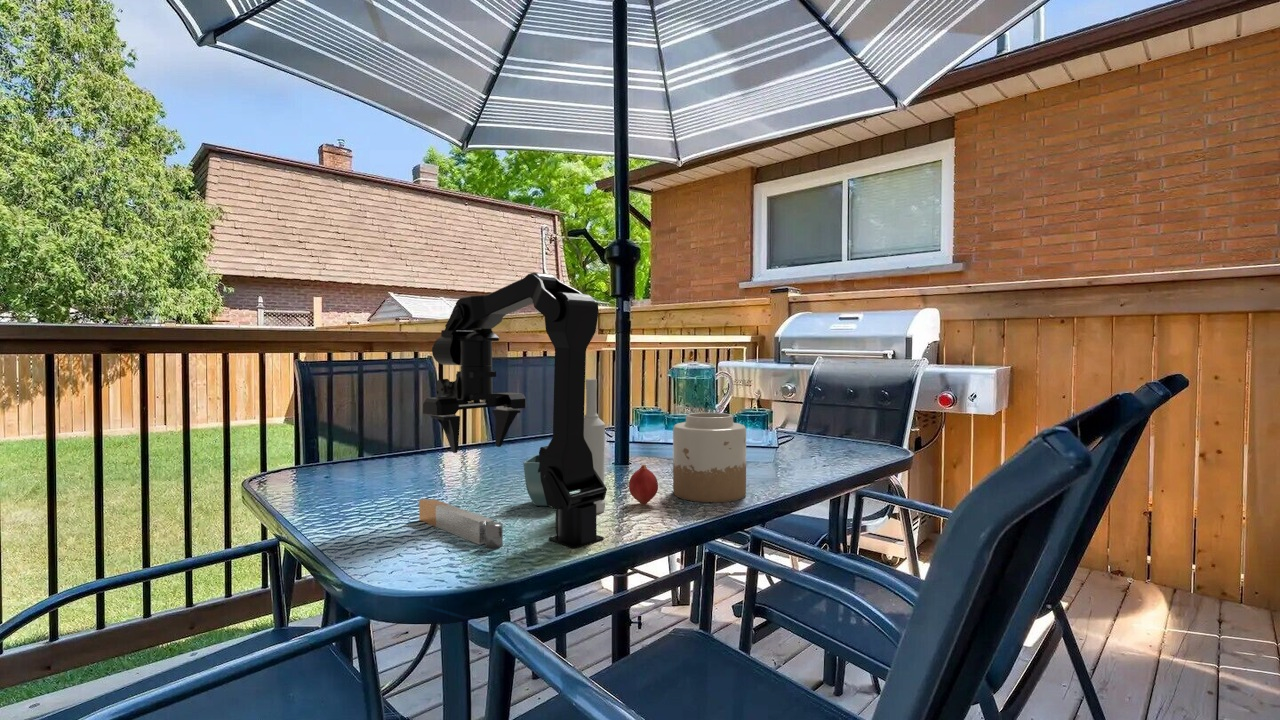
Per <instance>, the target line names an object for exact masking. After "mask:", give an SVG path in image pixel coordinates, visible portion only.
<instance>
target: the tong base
mask: <svg viewBox="0 0 1280 720" xmlns="http://www.w3.org/2000/svg"><path fill="white" fill-rule="evenodd" d="M429 500H431V501H434V502H436V503H439V504H442V505H445V506H447V507H450V508H453V509H456V510H459V511H461V512H464V513H467V514H470V515H472V516H475V517H478V518H481V519H484V520H486V525H485V538H486V543H485V548H486V549H488V550H491V549H492V550H493V549H494V550H495V549H499V548H502V547H503V545H504V541H503V539H504V538H503V537H504V536H503V535H504V533H503V531H504V529H503V527H504V526H503V524H504V523H502V522H499V521H498V522H497V521H495V520H494V519H492V518H489V517H487V516H483V515H481V514H478V513H474V512H472V511H468V510H465V509H464V508H460V507H458V506H454V505H451V504H449V503H445V502H443V501H440V500H439V499H434V498H431V499H429Z"/></svg>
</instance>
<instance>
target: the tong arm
mask: <svg viewBox="0 0 1280 720" xmlns="http://www.w3.org/2000/svg"><path fill="white" fill-rule="evenodd" d="M418 502H419V503H418V504H419V505H418V506H419V507H418V510H419V512H418V514H419V515H418V517H419V521H421V522H423V523H426V524H428V525H431V526H433V527H436V528H437V529H441V530H443V531H445V532H448V533H450V534H452V535H455V536H458V537H459V538H462V539H465V540H467V541H469V542H471V543H475V544H477V545H479V546H481V545H484V544H485V545H486V538H485V525H486V520H484V519H481V518H478V517H475V516H472V515H470V514H467V513H464V512H461V511H459V510H456V509H453V508H450V507H447V506H445V505H442V504H439V503H436V502H434V501H431V500H430V499H427V498H422V499H421V498H420V499H419V501H418Z"/></svg>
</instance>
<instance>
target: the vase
mask: <svg viewBox="0 0 1280 720" xmlns="http://www.w3.org/2000/svg"><path fill="white" fill-rule="evenodd" d="M673 425H674V426H673V430H672V453H673V454H672V464H673V465H672V488H673V489H672V490H673V495H674V496H676V497H678V499H679V498H680V499H683V500H685V501H689V500H690V501H691V502H696V501H698V502H697V503H708V502H718V503H729V501H730V502H735V501H739V500H741V499H743V498H744V497H745V496H746V494H747V429H746V428H747V427H746V426H745V425H744V424H743V423H742V424H741V423H738V422H734V416H733V414H730V413H726V412H725V413H723V412H692V413H688V414H686V416H685V421H683V422H679V423H676V424H673ZM738 499H739V500H738Z"/></svg>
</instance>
